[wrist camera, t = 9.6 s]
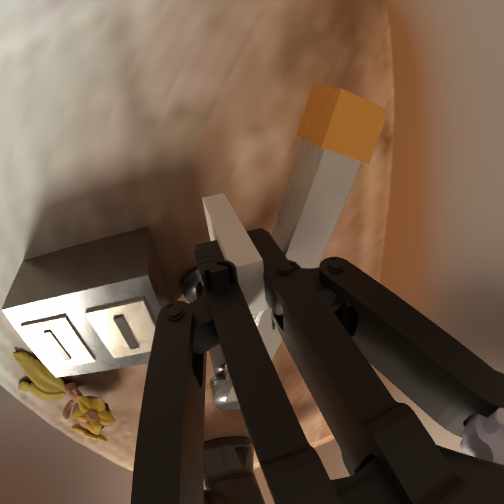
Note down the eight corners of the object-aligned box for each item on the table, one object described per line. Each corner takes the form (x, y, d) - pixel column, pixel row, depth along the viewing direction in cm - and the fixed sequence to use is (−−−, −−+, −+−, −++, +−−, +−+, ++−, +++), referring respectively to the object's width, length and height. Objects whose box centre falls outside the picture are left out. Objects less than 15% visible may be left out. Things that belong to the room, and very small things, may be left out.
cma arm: (205, 390, 23) (211, 415, 21) (303, 79, 12) (331, 84, 10) (247, 387, 24) (254, 410, 22) (365, 104, 13) (396, 114, 11)
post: (231, 294, 34) (260, 376, 25) (187, 305, 33) (205, 390, 24) (225, 258, 31) (256, 343, 22) (176, 270, 30) (191, 359, 21)
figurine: (11, 347, 28) (78, 441, 25) (64, 325, 37) (131, 405, 33) (18, 391, 33) (75, 467, 30) (59, 371, 42) (116, 438, 38)
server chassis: (173, 305, 32) (181, 360, 27) (63, 328, 30) (55, 381, 24) (147, 227, 26) (148, 279, 21) (22, 261, 24) (-1, 314, 18)
